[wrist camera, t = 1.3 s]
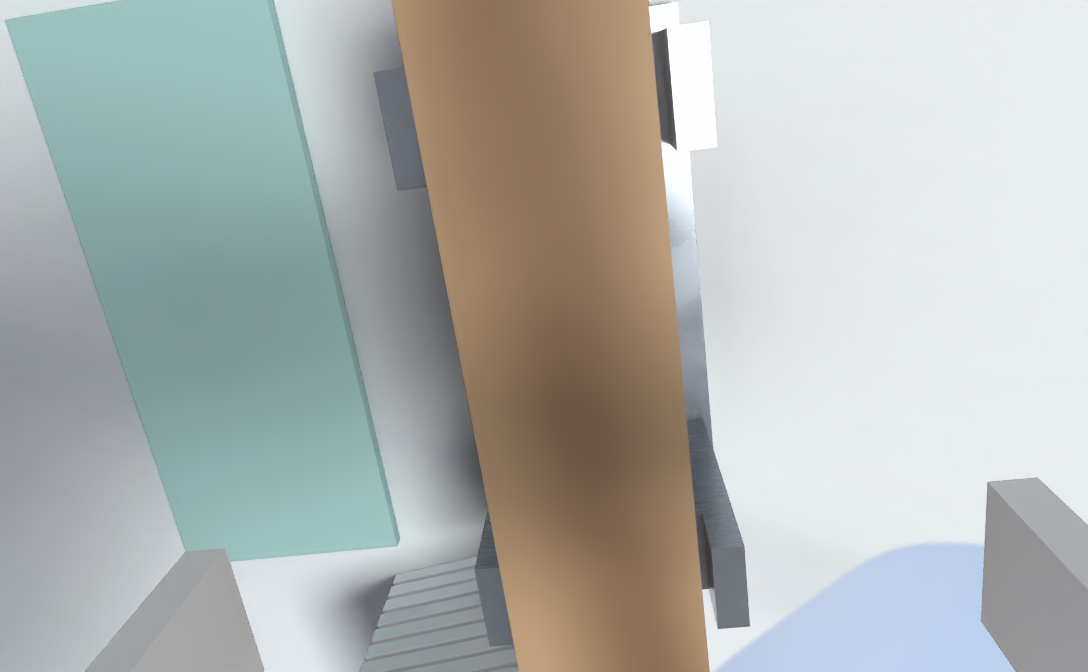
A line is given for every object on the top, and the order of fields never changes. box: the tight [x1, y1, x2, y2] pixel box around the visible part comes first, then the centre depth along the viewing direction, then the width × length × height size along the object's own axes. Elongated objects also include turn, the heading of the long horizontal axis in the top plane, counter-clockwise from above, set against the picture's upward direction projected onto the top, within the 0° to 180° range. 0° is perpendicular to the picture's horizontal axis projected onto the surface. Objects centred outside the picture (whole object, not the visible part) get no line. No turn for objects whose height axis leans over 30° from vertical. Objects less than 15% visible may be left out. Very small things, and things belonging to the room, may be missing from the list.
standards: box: [374, 2, 750, 647], centre depth 27 cm, size 9×20×10 cm, turn 8°
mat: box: [5, 0, 400, 562], centre depth 32 cm, size 10×24×1 cm, turn 8°
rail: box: [392, 0, 709, 672], centre depth 21 cm, size 5×22×6 cm, turn 8°
